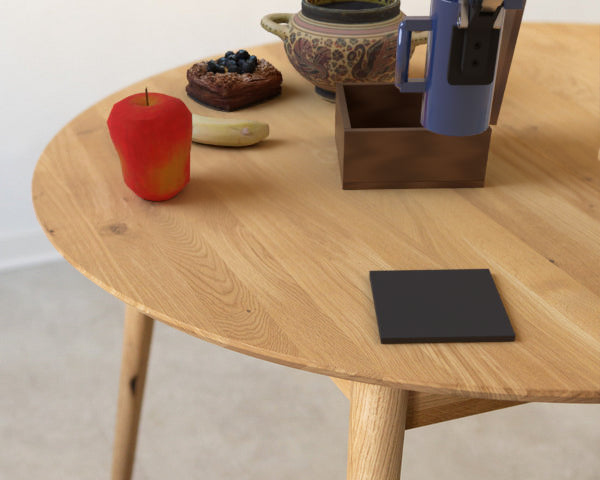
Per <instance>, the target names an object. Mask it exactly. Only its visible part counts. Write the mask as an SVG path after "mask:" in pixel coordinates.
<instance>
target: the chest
mask: <svg viewBox="0 0 600 480" xmlns="http://www.w3.org/2000/svg"><path fill="white" fill-rule="evenodd" d="M422 94H423V92H410V93H401V92H400V90H399V89H398V88H397V87H396V86H395V81H387V82H345V83H336V102H334V104H335V105H334V139H335V146H336V155H337V161H338V167H339V173H340V181H341V189H342V190H387V189H388V190H390V189H391V190H393V189H447V188H448V189H451V188H453V189H455V188H461V189H462V188H484V187H485V180H486V173H487V167H488V159H489V152H490V147H491V146H490V145H491V139H492V132H493V129H492V127H491V125H489V127H488V128H487V130H485V131H484V132H482V133H480V134H476V135H471V136H447V135H441V134H437V133H434V132H431V131H429V130H427V129H426V128H424V127H423V126H422V125H421V122H420V117H421V106H422Z"/></svg>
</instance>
